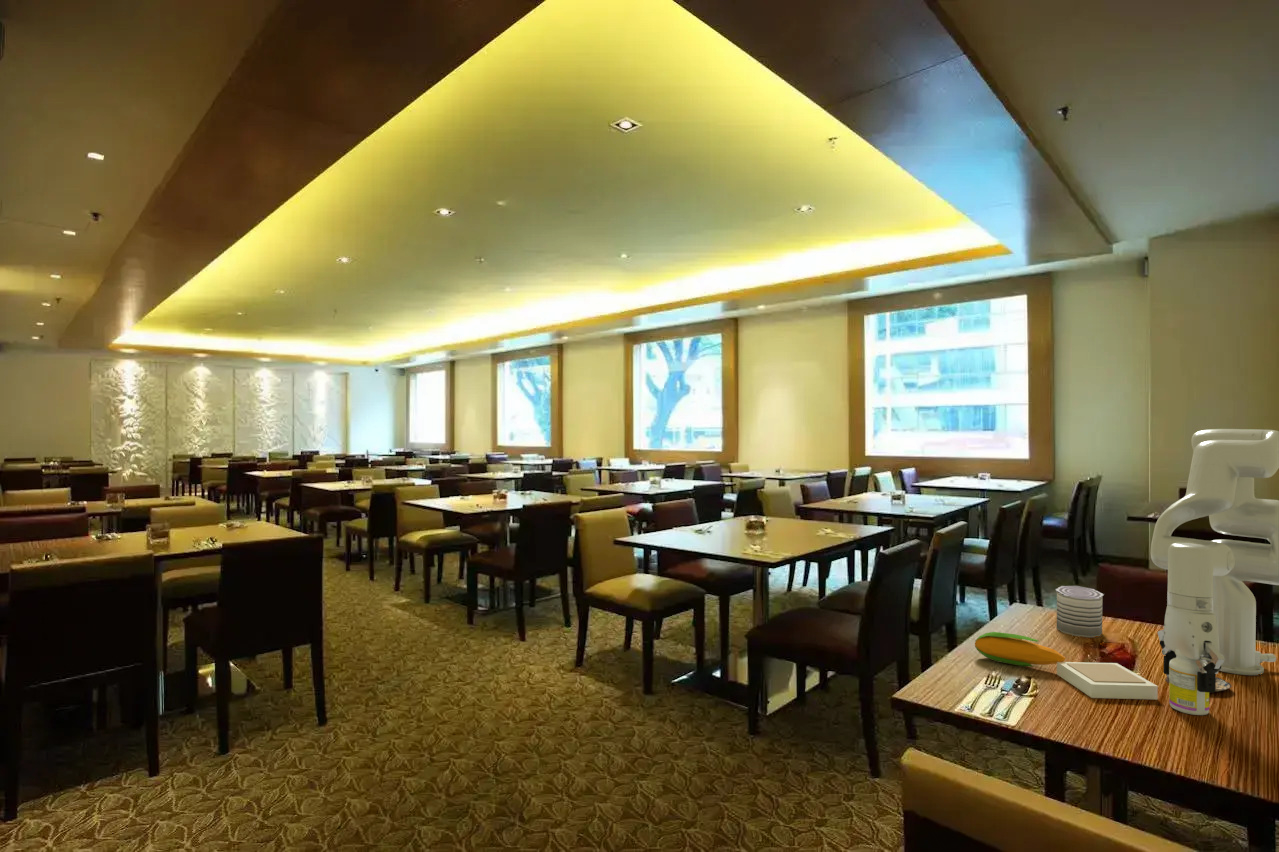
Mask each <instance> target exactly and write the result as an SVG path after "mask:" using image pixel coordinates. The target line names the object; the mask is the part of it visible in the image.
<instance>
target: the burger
mask: <svg viewBox="0 0 1279 852" xmlns="http://www.w3.org/2000/svg"><path fill="white" fill-rule="evenodd" d="M1165 675H1166V674H1165ZM1164 680H1165V682H1166V683H1167V684H1169V675H1166V677H1165V679H1164ZM1232 685H1233V684H1231V683H1230V682H1229V681H1226V680H1225V679H1222V678H1220V677H1219V676H1218V677H1217V676H1216V687H1215V692H1221V691H1226V690H1228V689H1231V688H1232V687H1233V686H1232Z"/></svg>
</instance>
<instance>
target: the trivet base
mask: <svg viewBox="0 0 1279 852" xmlns="http://www.w3.org/2000/svg"><path fill="white" fill-rule="evenodd" d="M1056 675H1057V676H1058V677H1061V678H1062V679H1063V680H1065V681H1066V682H1067V683H1069V684H1070V685H1072V686H1074V687H1075V688H1076V689H1078V690H1079V691H1080V692H1082V693H1084V694H1085V695H1087V696H1088V697H1090V698H1091V699H1116V700H1117V699H1120V700H1121V699H1125V700H1126V699H1127V700H1158V699H1159V698H1158V692H1159V690H1158V686H1159V685H1158V684H1157V685H1156V684H1155V683H1153V682H1151V681H1149V680H1148V679H1146V678H1144V677H1142V676H1140V675H1139V674H1137V673H1136V672H1133V671H1132V670H1130V669H1128V668H1126V667H1125V666H1122V665H1121V664H1119V663H1118V662H1079V661H1073V662H1072V661H1063V662H1057V664H1056Z"/></svg>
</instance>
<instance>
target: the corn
mask: <svg viewBox="0 0 1279 852" xmlns="http://www.w3.org/2000/svg"><path fill="white" fill-rule="evenodd" d="M1036 642H1039V640H1038V639H1035V638H1031V637H1029V636H1025V635H1020V634H1015V633H1006V632H1000V631H990V632H986V633H983V634H981V635H979V636H978V637H977V638H976V639H975V641H974V646H975V647H974V648H975V649H976V650H977V652H978V653H980V655H982V656H984V657H985V658H986V659H990V660H991V661H994V662H999V663H1004V664H1009V665H1014V666H1019V667H1028V668H1033V665H1038V666H1047V665H1057V662H1065V660H1066V657H1065V656H1064V655H1063V654H1061V653H1060V652H1059V651H1057V650H1055V649H1054V648H1051V647H1047V646H1045V645H1042V644H1038V643H1036Z"/></svg>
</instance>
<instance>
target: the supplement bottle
mask: <svg viewBox="0 0 1279 852" xmlns="http://www.w3.org/2000/svg"><path fill="white" fill-rule="evenodd" d="M1175 654H1176V658H1173V659H1171V660H1170V662H1169V683H1168V684H1169V685H1168V688H1169V689H1168V694H1169V695H1168V696H1169V697H1168V699H1169V700H1168V702H1169V703H1168V704H1169V705H1170V707H1171V708H1172V709H1174V710H1176V711H1178V712H1181V713H1183V714H1188V715H1191V716H1192V715H1193V716H1205V715H1209V712H1210V692H1200V691H1198V690H1197V672H1200V669H1199V667H1198V665H1197V663H1196V661H1195V660H1192V659H1190V658H1187V657H1185V656H1184V655H1182V654H1181V653H1180V651H1179V650H1177V649H1176V651H1175ZM1200 657H1203V656H1200ZM1204 665H1205V666H1206V664H1205V663H1204Z"/></svg>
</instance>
